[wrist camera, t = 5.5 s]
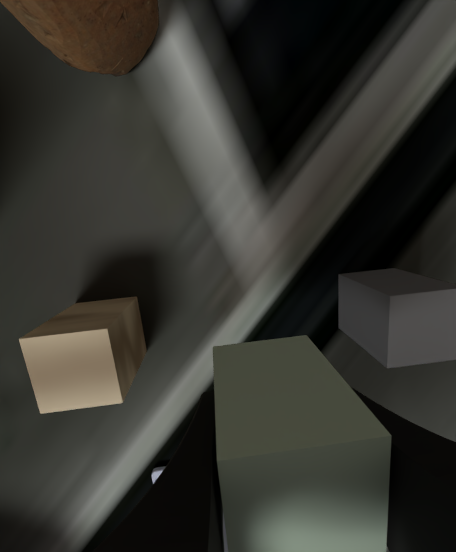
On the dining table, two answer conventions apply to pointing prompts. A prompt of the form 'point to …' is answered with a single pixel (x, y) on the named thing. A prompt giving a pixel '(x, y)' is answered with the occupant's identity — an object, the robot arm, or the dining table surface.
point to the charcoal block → (399, 316)
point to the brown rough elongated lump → (91, 30)
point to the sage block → (297, 452)
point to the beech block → (85, 355)
